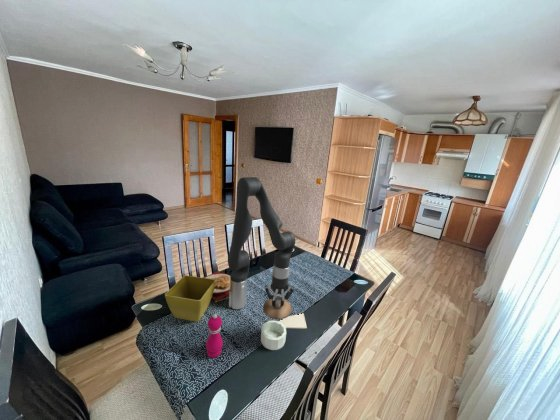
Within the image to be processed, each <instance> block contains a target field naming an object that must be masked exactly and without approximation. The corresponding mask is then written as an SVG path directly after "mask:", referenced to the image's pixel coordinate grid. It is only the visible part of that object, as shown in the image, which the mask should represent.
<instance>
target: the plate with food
mask: <svg viewBox="0 0 560 420" xmlns="http://www.w3.org/2000/svg"><path fill="white" fill-rule="evenodd" d="M230 275H231V274H230ZM230 275H229V274H227V273H223V272H221V271H219V270H217V271H214V272H213V273H211V274H210V275H207V276H203V277H202V278H207V279H214V280H215V286H214V291H213V295H212V298H211V299H212V300H213V299H215V300H220V299H222V298H223V297H225V296H226V295H228V294H229V292H230Z"/></svg>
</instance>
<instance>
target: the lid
mask: <svg viewBox="0 0 560 420" xmlns="http://www.w3.org/2000/svg"><path fill="white" fill-rule="evenodd" d="M281 299H282V296H281V295H277V296H276V298H275V307H273V306H272V299H269V298H268V299H267V300H266V301H264V303H263V306H262V310H263V313H264V314H265V316H267V317H268V318H269V319H273V320H278V319H284V318H287V317H288V316H291V314H292V306H291V305H292V304H291V303H290V302H289V301H287V300H286V299H285V300H284V306H282V307H281Z"/></svg>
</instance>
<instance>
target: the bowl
mask: <svg viewBox="0 0 560 420" xmlns="http://www.w3.org/2000/svg"><path fill="white" fill-rule="evenodd" d="M260 331H261V332H260V333H261V334H260V342H261V344H262V346H263V347H264V348H265V349H267V350H270V351H278V350H281V349H282V348H283V347H284V346H285V343H286V338H287V328H286V327H285V326H284V325H283V324H282V323H281V322H279V321H278V320H269V321H266V322H264V323H263V324H262V326H261V330H260Z"/></svg>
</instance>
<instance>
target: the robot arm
mask: <svg viewBox="0 0 560 420" xmlns="http://www.w3.org/2000/svg"><path fill="white" fill-rule="evenodd" d="M249 197H255V198H256V200H257V201H258V202H259V209H260V210H259V215H260V218H261V220H262V221H263V222H262V223H263V224H264V225H265V227H266V228H267V230H268V235H269V237H270V242H271V244H272V246H273V247H274V248H275V249H276V250H278V251H276V253H275V254H274V260H273V261H274V262H273V267H272V275H271V283H270V285H265V286H264V287H265V288H264V291H265V292H266V293H265V294H266V295H267V298H268V300H269V299H272V306H273V307H275V298H276V296H278V295H280V296H281V298H282V299H281V307H282V306H284V300H286V301H287V300H289V299H290V298H291V296H292V294H293V293H294V288H293V286H289V279H290V266H291V265H290V263H291V256H292V254H293V252H294V248H295V247H296V237H295V234H294V233H293V232H292V231H290V230H289V231H288V230H287V231H283V232H281V229H282V227H283V223H282V220H281V218H280V217H279V215H278V214H277V213H276V211H275V209H274V207H273V206H272V203H271V202H270V199H269V196H268V194H267V192H266V189H265V187H264V185H263V183H262V181H261V180H260V179H259V177H255V176H254V177H253V176H248V177H246V176H245V177H241V178H239V179H238V181H237V185H236V200H235V201H236V202H235V204H236V205H235V215H234V220H233V229H232V238H231V243H230V247H229V252H228V256H227V265H228V266H227V267H228V268H229V269H230V270H231V273H230V292H229V298H228V308H231V309H233V310H241V309H243V308H244V307H246V303H247V302H246V301H247V300H246V299H247V285H248V284H247V282H248V275H249V272H250V264H251V263H250V261H251V259H250V254H249V252H248V251H247V250H245V249H244V250H243V249H242V248H243V246H244V245H245V243H246V242H247V240H248V239H249V237H250V236H251V233H252V228H253V219H252V216H251V215H252V214H251V213H250V211H249V208H248V201H249ZM271 291H272V294H271ZM285 292H286V293H285Z"/></svg>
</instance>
